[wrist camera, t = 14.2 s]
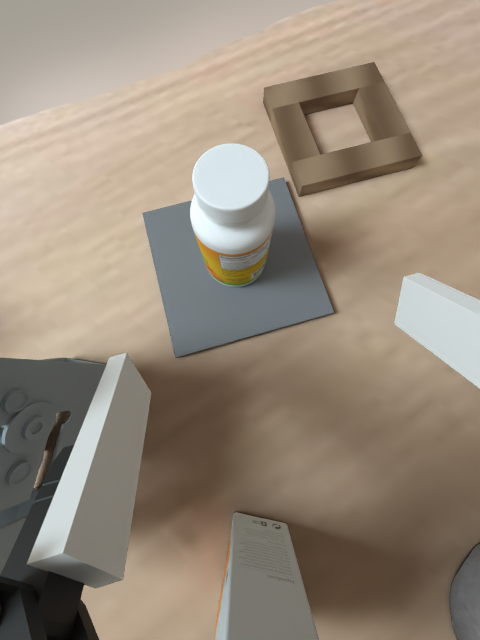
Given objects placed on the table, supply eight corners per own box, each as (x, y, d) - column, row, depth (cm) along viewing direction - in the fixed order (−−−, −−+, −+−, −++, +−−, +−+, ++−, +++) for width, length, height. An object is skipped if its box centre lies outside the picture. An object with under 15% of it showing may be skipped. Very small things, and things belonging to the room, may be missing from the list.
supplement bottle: (203, 236, 22) (174, 136, 13) (261, 230, 22) (275, 125, 13) (208, 291, 21) (180, 228, 12) (269, 285, 21) (291, 215, 12)
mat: (282, 182, 24) (283, 177, 23) (331, 313, 21) (334, 312, 21) (145, 216, 23) (142, 212, 23) (177, 357, 21) (175, 357, 20)
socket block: (367, 78, 27) (374, 62, 25) (411, 167, 24) (422, 155, 23) (263, 102, 26) (264, 87, 25) (298, 196, 24) (302, 186, 22)
